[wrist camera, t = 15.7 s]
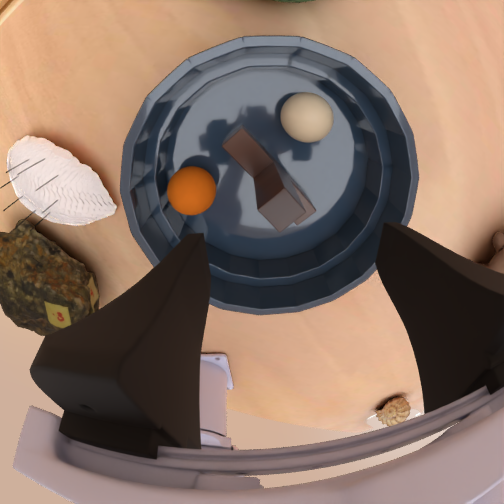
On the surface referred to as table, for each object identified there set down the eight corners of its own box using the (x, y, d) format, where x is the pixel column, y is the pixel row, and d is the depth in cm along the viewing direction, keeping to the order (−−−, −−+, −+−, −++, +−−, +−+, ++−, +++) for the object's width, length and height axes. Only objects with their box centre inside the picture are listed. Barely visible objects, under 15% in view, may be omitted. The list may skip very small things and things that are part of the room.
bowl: (173, 274, 22) (160, 319, 18) (135, 69, 13) (98, 65, 9) (365, 261, 22) (387, 301, 18) (384, 61, 13) (426, 59, 9)
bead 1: (183, 185, 18) (167, 221, 17) (172, 154, 16) (152, 191, 14) (224, 190, 18) (211, 227, 16) (218, 157, 15) (202, 197, 14)
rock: (-15, 329, 15) (-45, 284, 10) (11, 257, 21) (-1, 203, 16) (93, 363, 20) (88, 329, 15) (106, 283, 26) (112, 232, 21)
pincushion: (132, 172, 17) (96, 206, 12) (108, 237, 20) (77, 282, 15) (20, 116, 13) (-28, 134, 8) (8, 179, 16) (-32, 208, 11)
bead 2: (275, 144, 15) (303, 121, 16) (318, 158, 14) (344, 133, 15) (264, 101, 13) (295, 82, 14) (312, 111, 11) (340, 89, 12)
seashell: (410, 382, 43) (394, 398, 37) (423, 404, 40) (409, 423, 33) (382, 401, 47) (362, 417, 41) (395, 421, 43) (376, 440, 37)
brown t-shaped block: (311, 201, 18) (337, 249, 13) (293, 215, 19) (312, 267, 14) (242, 124, 15) (241, 141, 10) (222, 141, 16) (213, 167, 11)
